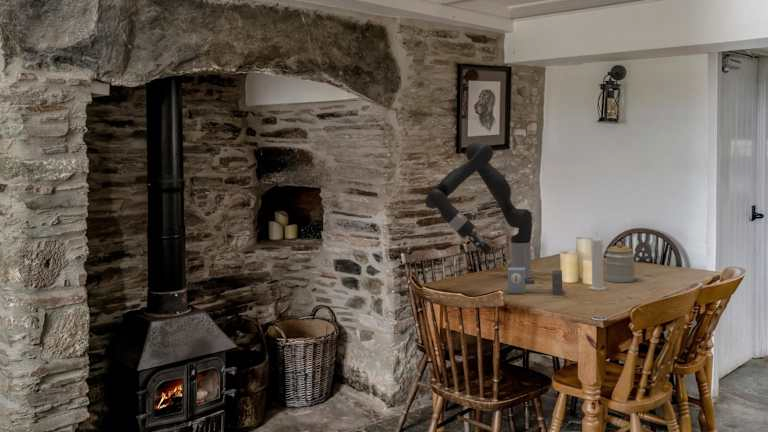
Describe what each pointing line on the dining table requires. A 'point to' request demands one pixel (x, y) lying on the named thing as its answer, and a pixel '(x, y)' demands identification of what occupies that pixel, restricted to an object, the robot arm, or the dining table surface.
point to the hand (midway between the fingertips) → (489, 251)
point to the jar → (620, 264)
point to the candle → (597, 264)
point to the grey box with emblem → (517, 280)
